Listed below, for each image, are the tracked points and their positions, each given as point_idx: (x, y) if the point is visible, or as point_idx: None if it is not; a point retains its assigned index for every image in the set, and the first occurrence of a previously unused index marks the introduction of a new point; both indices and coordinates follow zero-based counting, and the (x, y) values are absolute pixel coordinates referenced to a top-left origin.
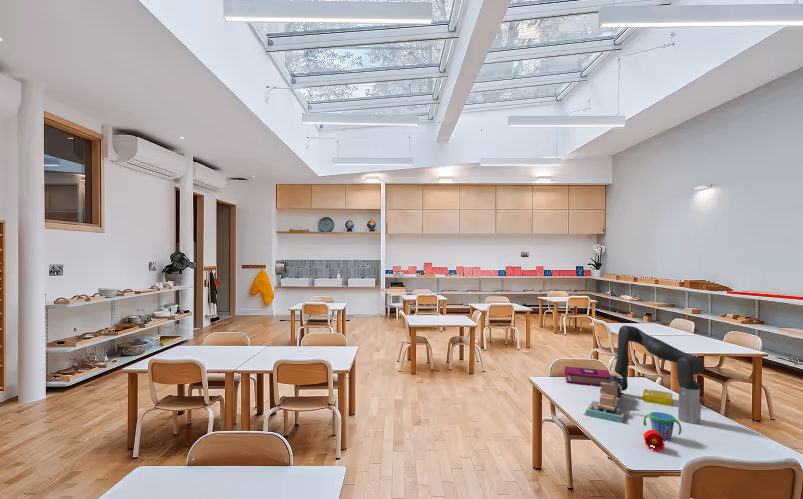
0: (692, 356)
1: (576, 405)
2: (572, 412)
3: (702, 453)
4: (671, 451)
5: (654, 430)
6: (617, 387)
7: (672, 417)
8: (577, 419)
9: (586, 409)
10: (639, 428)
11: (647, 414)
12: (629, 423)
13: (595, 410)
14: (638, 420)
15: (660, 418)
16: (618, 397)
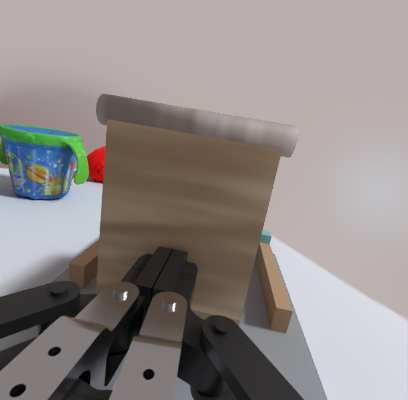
0: None
1: (403, 380)
2: (324, 275)
3: (3, 169)
4: (74, 175)
5: (103, 147)
6: (108, 130)
7: (12, 126)
8: (274, 238)
9: (269, 232)
10: (80, 216)
11: (77, 144)
12: (98, 234)
13: (247, 304)
14: (21, 258)
15: (60, 134)
16: (10, 348)
